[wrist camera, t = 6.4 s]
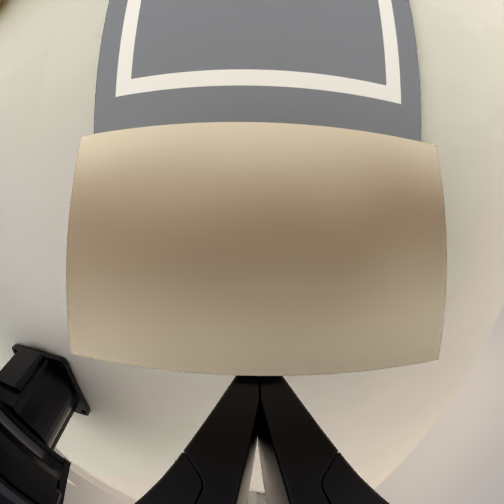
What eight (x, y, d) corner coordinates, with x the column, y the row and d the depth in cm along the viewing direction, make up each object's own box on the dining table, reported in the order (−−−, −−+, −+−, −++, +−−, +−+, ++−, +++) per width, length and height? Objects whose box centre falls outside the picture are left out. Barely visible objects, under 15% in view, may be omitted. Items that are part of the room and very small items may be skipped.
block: (363, 322, 12) (438, 359, 6) (144, 318, 12) (70, 354, 6) (364, 192, 12) (436, 145, 6) (149, 187, 12) (82, 136, 6)
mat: (385, 329, 15) (388, 333, 15) (120, 324, 15) (117, 328, 15) (399, -26, 8) (401, -29, 8) (121, -33, 8) (119, -36, 8)
